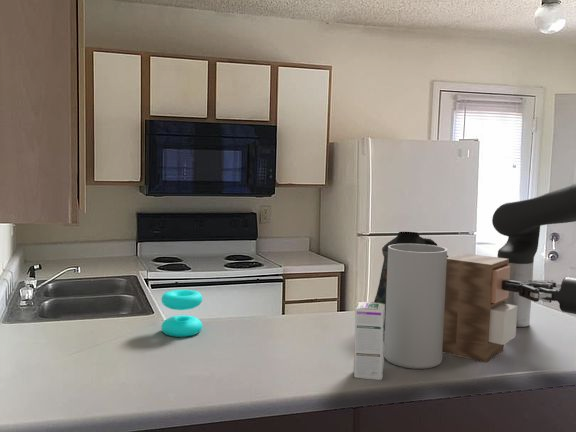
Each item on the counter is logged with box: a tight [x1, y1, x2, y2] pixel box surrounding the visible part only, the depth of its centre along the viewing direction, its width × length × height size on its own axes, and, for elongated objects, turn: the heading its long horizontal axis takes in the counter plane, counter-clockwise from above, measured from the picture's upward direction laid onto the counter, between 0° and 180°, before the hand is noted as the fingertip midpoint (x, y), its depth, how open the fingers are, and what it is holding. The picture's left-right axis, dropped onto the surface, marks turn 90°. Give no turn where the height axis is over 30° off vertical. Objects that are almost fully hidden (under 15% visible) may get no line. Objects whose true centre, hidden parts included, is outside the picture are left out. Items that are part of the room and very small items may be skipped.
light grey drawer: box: [489, 303, 517, 345], centre depth 131 cm, size 6×8×7 cm
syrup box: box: [353, 301, 385, 381], centre depth 119 cm, size 6×6×14 cm
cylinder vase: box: [384, 244, 448, 370], centre depth 127 cm, size 12×12×25 cm
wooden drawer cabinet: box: [442, 252, 509, 363], centre depth 134 cm, size 11×11×22 cm
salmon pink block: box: [491, 265, 510, 303], centre depth 132 cm, size 6×8×7 cm
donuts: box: [160, 289, 203, 338], centre depth 145 cm, size 10×10×10 cm
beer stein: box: [373, 231, 449, 332], centre depth 155 cm, size 16×19×25 cm
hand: (503, 284), depth 130 cm, fingers closed
